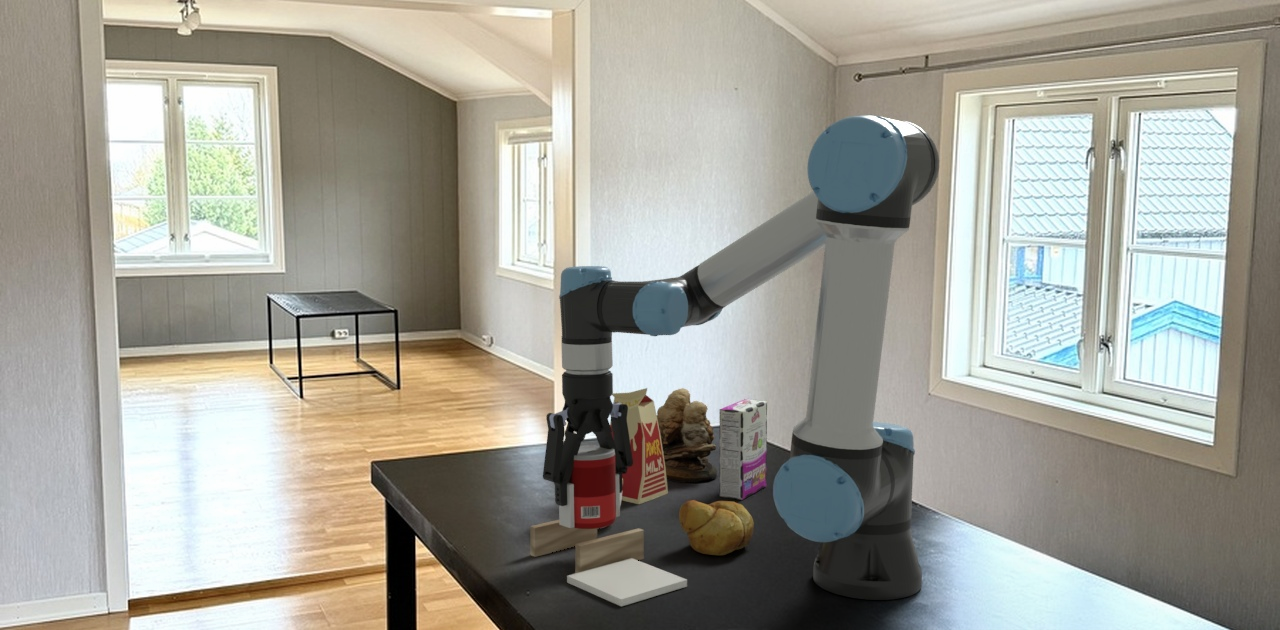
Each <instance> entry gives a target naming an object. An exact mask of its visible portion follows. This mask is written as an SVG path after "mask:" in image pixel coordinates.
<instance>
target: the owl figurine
mask: <svg viewBox="0 0 1280 630" xmlns="http://www.w3.org/2000/svg"><path fill="white" fill-rule="evenodd" d="M708 408H709V407H708V406H707V404H705V403H703V402H701V401H698V400H693V401H692V402H691V394H690V391H689V390H688V389H686V388H684V387H682V388H677V389H674V390H673V391H672V392H671V393H670V394H668V395H667V398H666V400H665V403H664V404H663V405H661V406H659V408H658V409H657V411H656V415H657V420H658V425H659V430H660V435H661V442H662V448H663V455H664V461H665V468H666V478H667V481H671V482H672V481H673V482H678V483H693V482H694V483H699V482H702V481H708V480H716V479H717V477H718V470H717V468H715V467H714V466H713V465H712V463H711V462H709V459H708V458H707V457H709V456H710V455H711V453H712V452H713V451H715V450H717V445H716V444H714V443H713V441H714V439H715V435H714V432H713V430H714V427H713V426H712V425H711V421H710V419H708V418H707V412H708Z"/></svg>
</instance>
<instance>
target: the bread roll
mask: <svg viewBox="0 0 1280 630" xmlns="http://www.w3.org/2000/svg"><path fill="white" fill-rule="evenodd" d="M678 511H679V512H678V515H679V516H678V519H679V524H680V525H681V526H680V527H681V528H682V530H683V532H685V533H686V535H687V538H688V540H689V541H688V543H689V546H690V547H691V548H692V549H693V550H694V551H696V552H697V553H700V554H704V555H712V556H725V555H728V554H730V553H732V552H734V551H738V550H740V549H743V548H745V547H747V546H748V545H749V543H750V541H751V540H752V536H753V534H754V533H755V532H754V525H755V523H754V519H753V517H752V515H751V514H750V512H749V511H748V510H747V508H745V506H744V505H743V504H741V503H737V502H735V501H728V500H718V501H713V502H711V503H709V504H707V503H704V502H700V501H697V500H695V499H690V500H687V501H685V502H683V504H682V505H681V506H680V508H679V510H678Z"/></svg>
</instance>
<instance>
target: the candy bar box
mask: <svg viewBox="0 0 1280 630" xmlns="http://www.w3.org/2000/svg"><path fill="white" fill-rule="evenodd" d="M767 430H768V401H767V400H761V399H760V400H759V399H752V398H751V399H750V398H746V399H745V398H744V399H742V400H740V401H739V400H738V401H737V402H734V403H732V404H729V405H728V406H725V407H721V408H720V409H719V497H721V498H725V499H730V500H731V499H733V500H740V501H743V500H745V499H746V498H749V497H751V496H752V495H754V494H755V493H757V492H759V491H761V490H763V489H764V488H765V487H767V486H768V485H767V476H768V475H767V472H768V471H767V464H768V463H767V462H768V461H767V455H768V454H767V452H768V451H767V450H768V449H767V448H768V447H767V446H768V445H767V442H768V431H767Z"/></svg>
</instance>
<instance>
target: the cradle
mask: <svg viewBox="0 0 1280 630" xmlns="http://www.w3.org/2000/svg"><path fill="white" fill-rule="evenodd" d="M529 528H530V531H529V532H530V537H529V538H530V540H529V542H530V543H529V544H530V545H529V547H530V549H529V550H530V552H529V553H530V556H532V557H535V558H538V557H539V556H543V555H548V554H552V552H553V553H556V551H557V552H560V550H561V551H565V550H568V549H567V548H569V549H572V548H571V547H573V548H575V552H574V553H575V555H574V556H575V557H574V559H575V561H574V562H575V563H574V564H575V565H574V569H575V570H574V574H575V573H579V572H583V571H586V570H590V569H594V568H597V567H601V566H605V565H608V564H612V563H616V562H620V561H623V560H627V559H631V558H633V559H635V560H639V561H642V560H645V559H644V557H645V556H644V553H645V549H644V548H645V547H644V546H645V545H644V544H645V542H644V541H645V539H644V538H645V534H644V533H645V530H644V529H642V528H639V527H638V528H635V529H630V530H625V531H623V532H622V531H621V532H619V533H614V534H610V535H606V536H603V537H598V529H597V528H596V529H578V528H568V527H565V526H562V525H559V519H556V520H552V521H551V520H550V521H547V522H544V523H543V522H542V523H539V524H534V525H530V527H529ZM574 546H575V547H574ZM564 549H565V550H564Z"/></svg>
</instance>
